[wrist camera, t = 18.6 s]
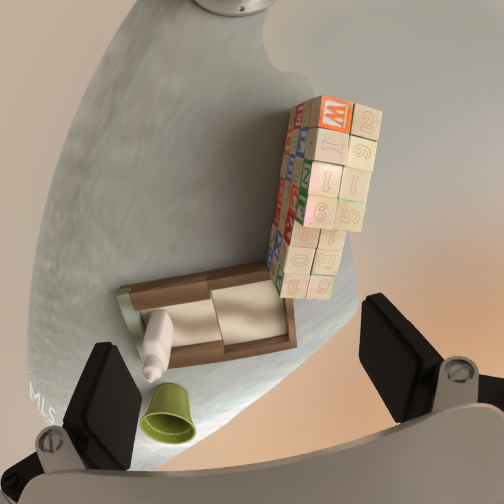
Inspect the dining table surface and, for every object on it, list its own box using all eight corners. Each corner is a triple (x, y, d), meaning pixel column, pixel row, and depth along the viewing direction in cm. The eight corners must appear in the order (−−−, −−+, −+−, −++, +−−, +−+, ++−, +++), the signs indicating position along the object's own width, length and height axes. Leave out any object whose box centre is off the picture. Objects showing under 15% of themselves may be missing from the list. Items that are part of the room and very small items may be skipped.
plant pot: (155, 410, 52) (150, 444, 44) (139, 377, 48) (131, 413, 40) (201, 407, 52) (201, 443, 44) (190, 374, 49) (188, 411, 41)
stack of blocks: (307, 268, 43) (338, 315, 32) (264, 264, 42) (282, 313, 31) (336, 116, 36) (384, 110, 24) (290, 105, 35) (323, 92, 23)
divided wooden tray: (121, 286, 42) (115, 296, 39) (284, 257, 43) (289, 265, 40) (149, 359, 47) (147, 370, 44) (292, 336, 48) (297, 347, 45)
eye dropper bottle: (182, 316, 43) (174, 372, 32) (169, 343, 45) (161, 400, 34) (154, 305, 42) (138, 359, 31) (143, 333, 44) (128, 388, 32)
